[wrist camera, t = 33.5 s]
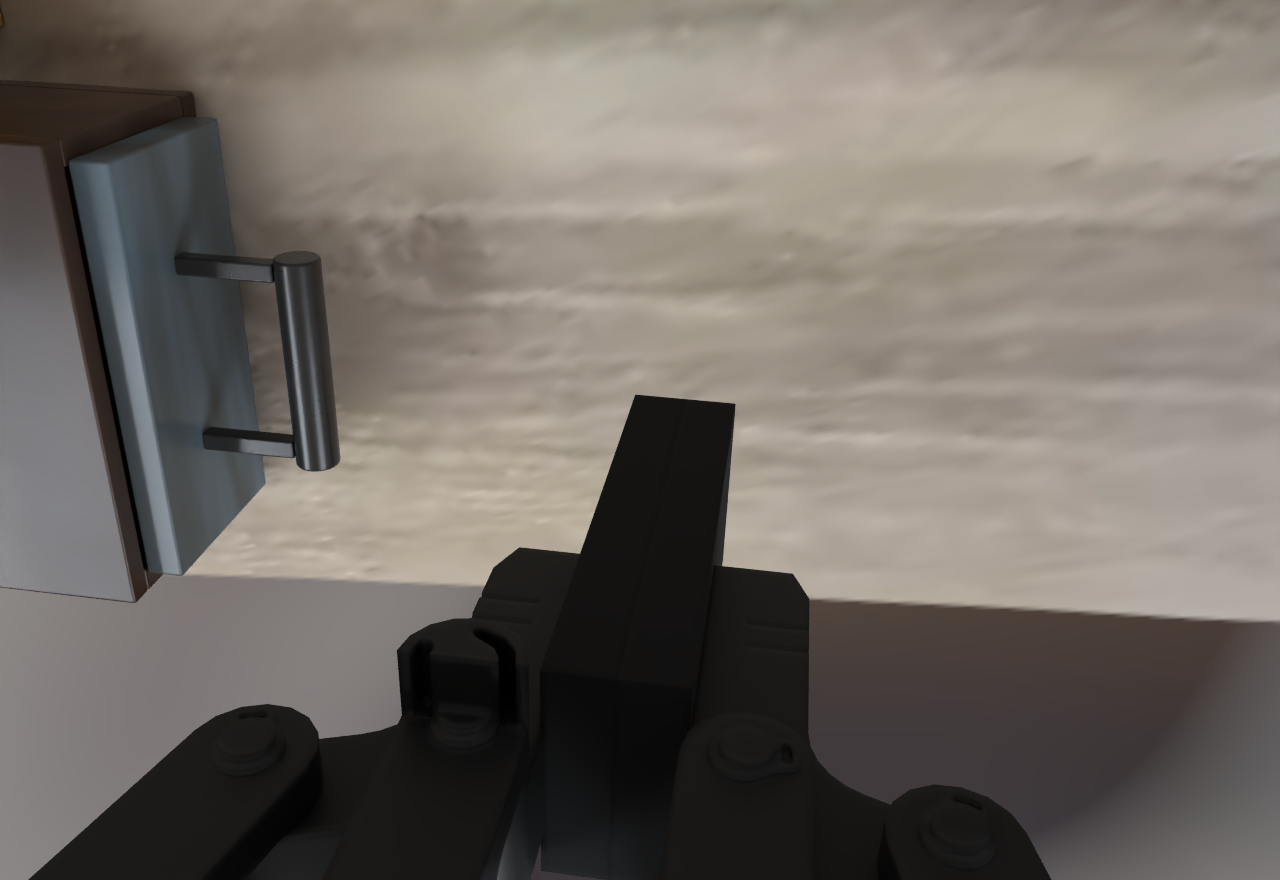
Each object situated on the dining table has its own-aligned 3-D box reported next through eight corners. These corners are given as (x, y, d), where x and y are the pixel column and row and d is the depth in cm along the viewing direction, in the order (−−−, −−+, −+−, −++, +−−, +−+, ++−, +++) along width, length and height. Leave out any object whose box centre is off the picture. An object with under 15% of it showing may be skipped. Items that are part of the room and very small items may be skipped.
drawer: (353, 127, 35) (266, 174, 30) (382, 495, 41) (315, 592, 36) (-195, 90, 37) (-372, 128, 32) (-90, 447, 43) (-224, 531, 38)
